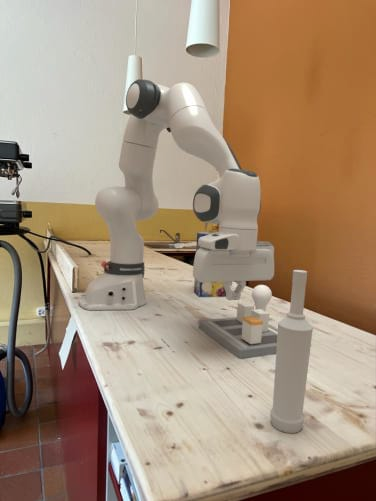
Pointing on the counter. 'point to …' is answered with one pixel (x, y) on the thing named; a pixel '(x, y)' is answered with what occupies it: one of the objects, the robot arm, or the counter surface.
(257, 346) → the panel
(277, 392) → the bottle
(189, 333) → the counter surface
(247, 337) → the block
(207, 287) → the juice carton
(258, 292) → the lightbulb
